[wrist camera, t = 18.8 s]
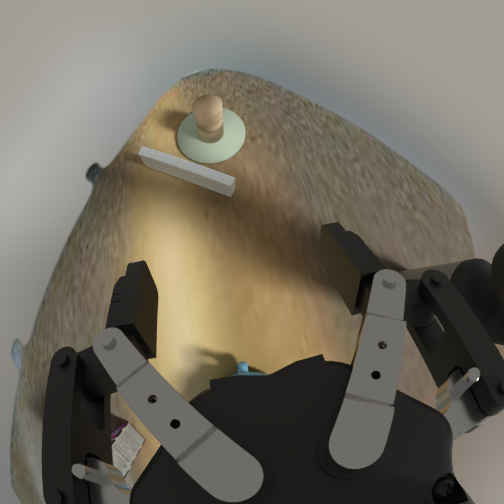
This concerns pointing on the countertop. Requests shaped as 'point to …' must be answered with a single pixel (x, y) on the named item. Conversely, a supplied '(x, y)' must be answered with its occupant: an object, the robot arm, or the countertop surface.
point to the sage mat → (211, 151)
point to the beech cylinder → (209, 118)
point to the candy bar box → (125, 446)
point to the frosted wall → (188, 171)
